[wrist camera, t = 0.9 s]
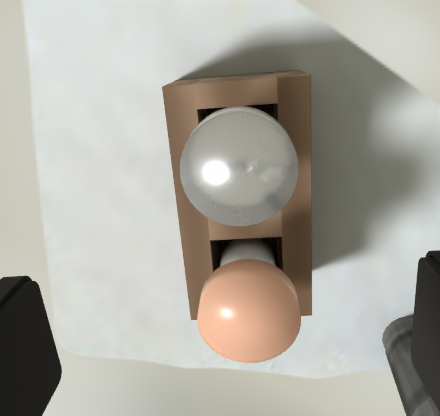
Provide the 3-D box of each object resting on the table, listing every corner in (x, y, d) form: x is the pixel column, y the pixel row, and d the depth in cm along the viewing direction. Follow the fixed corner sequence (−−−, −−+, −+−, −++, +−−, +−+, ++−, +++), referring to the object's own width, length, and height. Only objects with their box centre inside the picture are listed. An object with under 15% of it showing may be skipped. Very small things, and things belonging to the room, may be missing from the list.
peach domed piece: (287, 221, 30) (300, 273, 23) (289, 293, 32) (301, 361, 25) (203, 225, 31) (192, 278, 24) (211, 296, 33) (202, 364, 26)
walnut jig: (298, 70, 31) (310, 75, 25) (301, 274, 37) (311, 315, 31) (176, 80, 32) (162, 87, 26) (198, 279, 37) (191, 319, 32)
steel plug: (283, 91, 27) (297, 106, 20) (285, 181, 29) (299, 223, 22) (190, 99, 28) (173, 116, 21) (199, 186, 30) (186, 229, 23)
